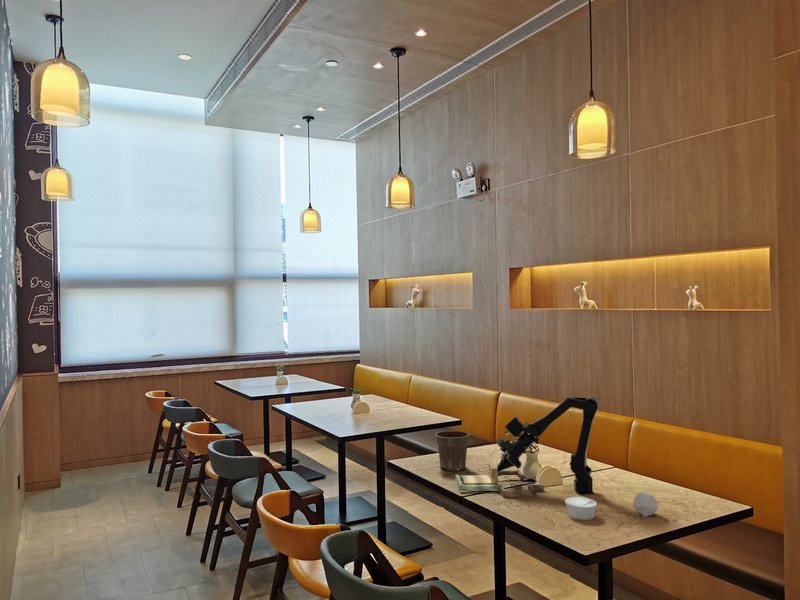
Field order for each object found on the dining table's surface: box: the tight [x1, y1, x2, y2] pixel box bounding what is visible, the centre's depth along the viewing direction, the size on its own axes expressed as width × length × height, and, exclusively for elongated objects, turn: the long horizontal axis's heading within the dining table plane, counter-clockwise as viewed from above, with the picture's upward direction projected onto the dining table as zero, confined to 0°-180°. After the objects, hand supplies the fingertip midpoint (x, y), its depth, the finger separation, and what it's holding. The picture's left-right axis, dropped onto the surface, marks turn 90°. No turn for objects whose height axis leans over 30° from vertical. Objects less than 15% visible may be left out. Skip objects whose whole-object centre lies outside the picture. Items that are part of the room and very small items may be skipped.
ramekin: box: [564, 496, 598, 521], centre depth 220 cm, size 11×11×5 cm
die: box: [632, 491, 659, 518], centre depth 221 cm, size 8×9×10 cm
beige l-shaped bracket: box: [461, 461, 499, 486], centre depth 257 cm, size 14×10×9 cm
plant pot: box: [435, 430, 470, 471], centre depth 286 cm, size 16×16×16 cm
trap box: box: [455, 469, 545, 498], centre depth 257 cm, size 35×29×3 cm
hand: (496, 470), depth 257 cm, fingers closed
